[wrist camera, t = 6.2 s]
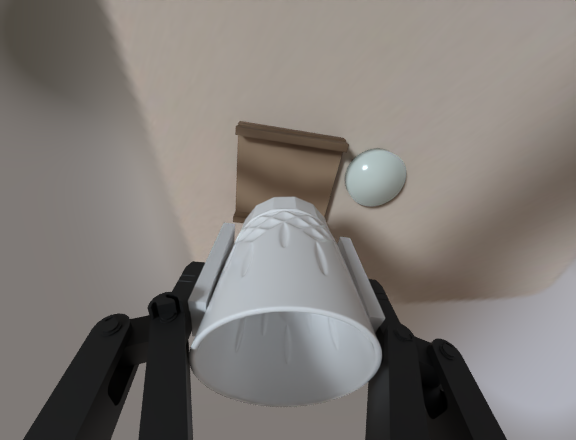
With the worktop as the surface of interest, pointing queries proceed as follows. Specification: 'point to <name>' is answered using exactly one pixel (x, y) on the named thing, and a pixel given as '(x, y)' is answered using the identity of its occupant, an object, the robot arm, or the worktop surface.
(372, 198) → the pale mint domed disc
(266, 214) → the white cup
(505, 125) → the worktop surface
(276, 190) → the stand
